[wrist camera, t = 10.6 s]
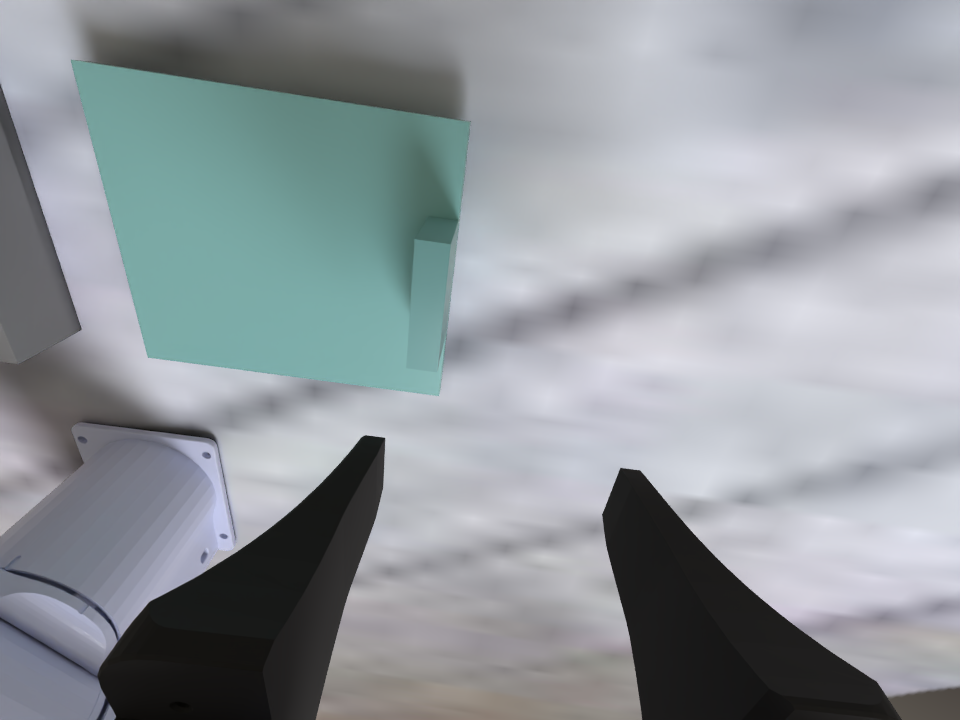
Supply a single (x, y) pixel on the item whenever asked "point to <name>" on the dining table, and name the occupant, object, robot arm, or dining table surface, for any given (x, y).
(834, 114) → the dining table surface
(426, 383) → the lid
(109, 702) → the robot arm
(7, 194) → the tub
